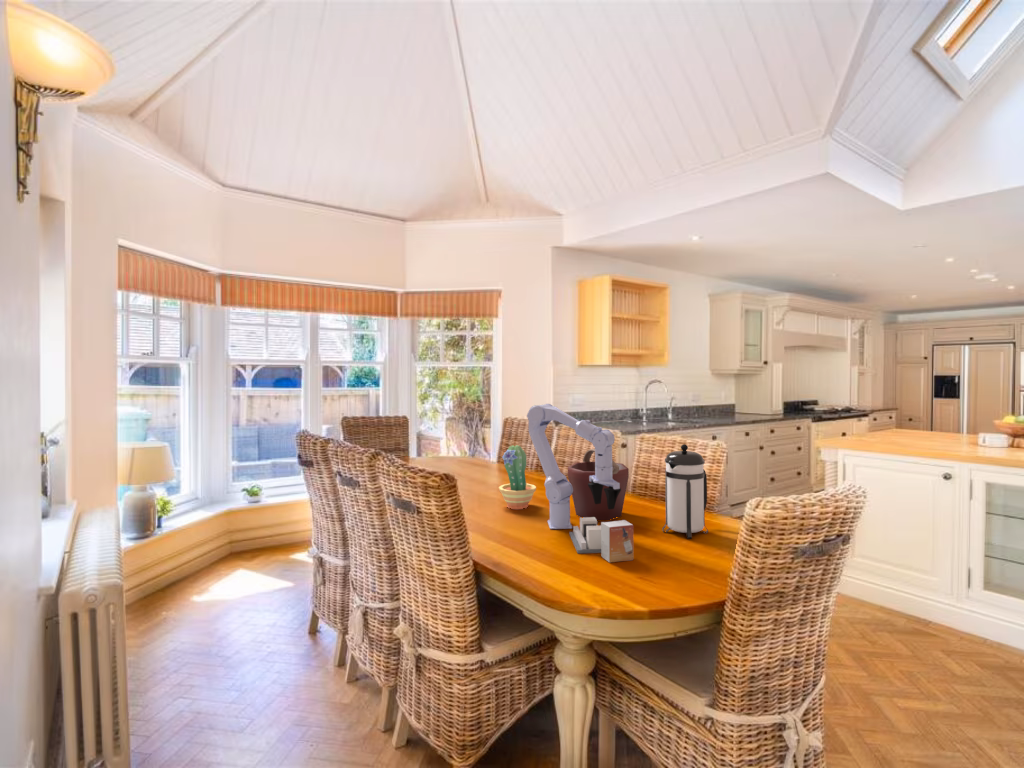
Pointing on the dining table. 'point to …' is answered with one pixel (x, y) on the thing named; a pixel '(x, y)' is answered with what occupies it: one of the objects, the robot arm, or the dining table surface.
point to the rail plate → (587, 539)
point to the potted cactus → (516, 479)
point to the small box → (617, 541)
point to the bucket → (584, 496)
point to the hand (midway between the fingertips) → (604, 506)
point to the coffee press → (685, 492)
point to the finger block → (586, 524)
